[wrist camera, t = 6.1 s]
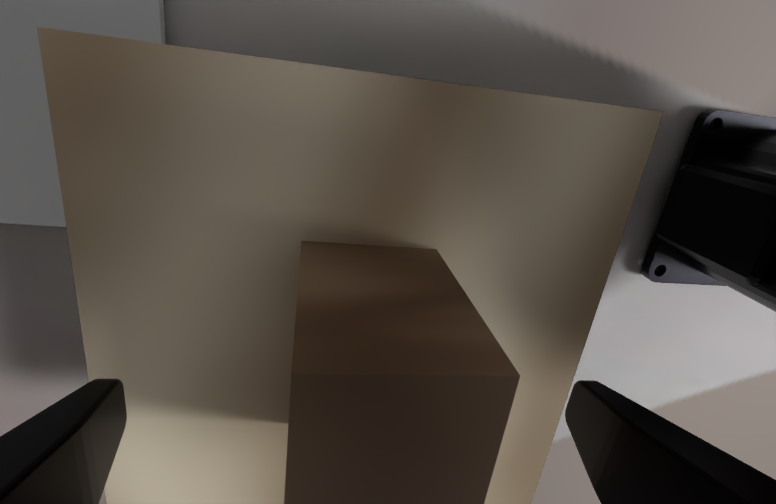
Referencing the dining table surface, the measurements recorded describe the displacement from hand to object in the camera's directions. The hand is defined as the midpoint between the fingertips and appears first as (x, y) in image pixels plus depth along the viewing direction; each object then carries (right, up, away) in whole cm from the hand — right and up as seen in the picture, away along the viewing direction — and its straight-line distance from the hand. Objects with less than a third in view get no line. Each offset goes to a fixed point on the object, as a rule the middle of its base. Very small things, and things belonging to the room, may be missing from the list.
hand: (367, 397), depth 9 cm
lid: (0, +1, +3) cm, 3 cm away
